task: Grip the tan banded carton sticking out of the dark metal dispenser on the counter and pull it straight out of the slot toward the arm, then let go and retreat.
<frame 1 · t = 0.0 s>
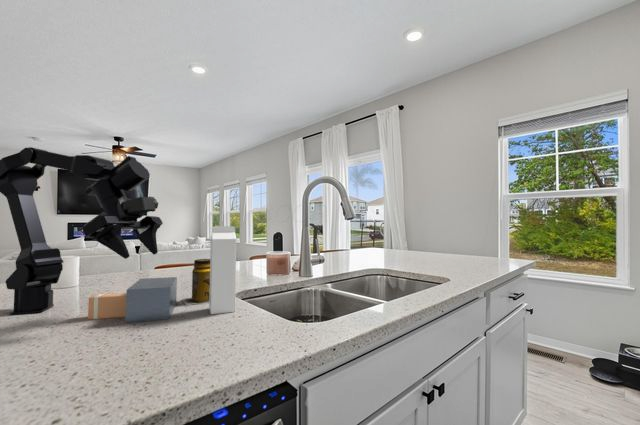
hand: (142, 255, 73), 15 cm above the worktop, tool tilted 35°, fingers open, 9 cm apart
condiment: (199, 301, 89), on the worktop
dispenser: (153, 312, 77), on the worktop
tan banded carton: (124, 314, 75), on the worktop
milk: (222, 310, 80), on the worktop
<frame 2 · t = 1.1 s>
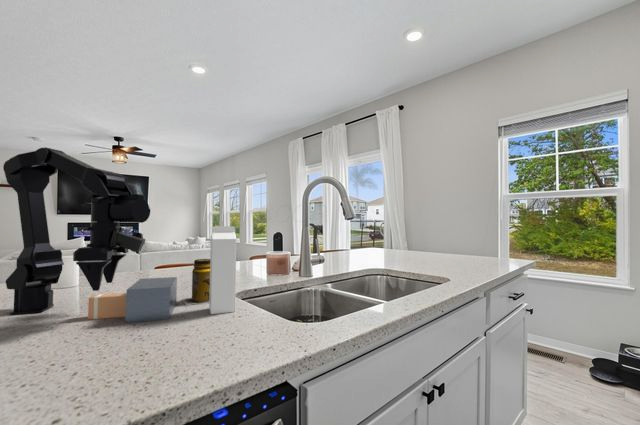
hand: (103, 286, 74), 7 cm above the worktop, tool pointing down, fingers open, 9 cm apart
nothing on the worktop moved.
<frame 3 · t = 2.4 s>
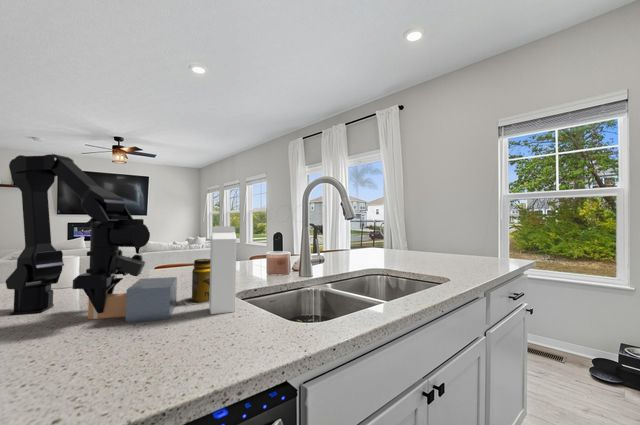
hand: (102, 310, 74), 1 cm above the worktop, tool pointing down, fingers closed on tan banded carton, 3 cm apart
tan banded carton: (124, 314, 75), on the worktop, touching gripper
everything else where it was.
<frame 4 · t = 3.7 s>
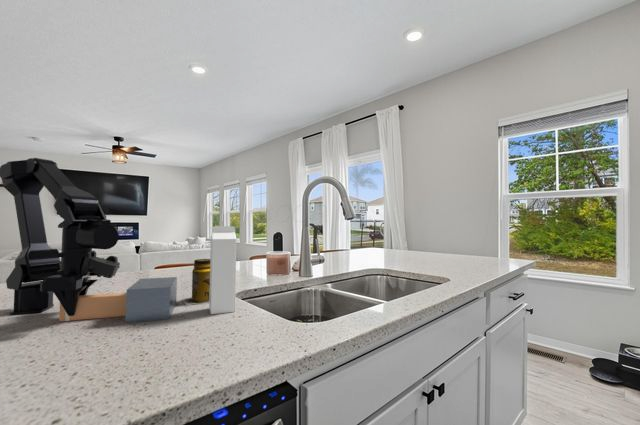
hand: (74, 313, 72), 1 cm above the worktop, tool pointing down, fingers closed on tan banded carton, 3 cm apart
tan banded carton: (97, 316, 73), on the worktop, touching gripper
everything else where it was.
when the fingers open (1 cm above the worktop, at t = 4.9 s): tan banded carton stays where it is, on the worktop.
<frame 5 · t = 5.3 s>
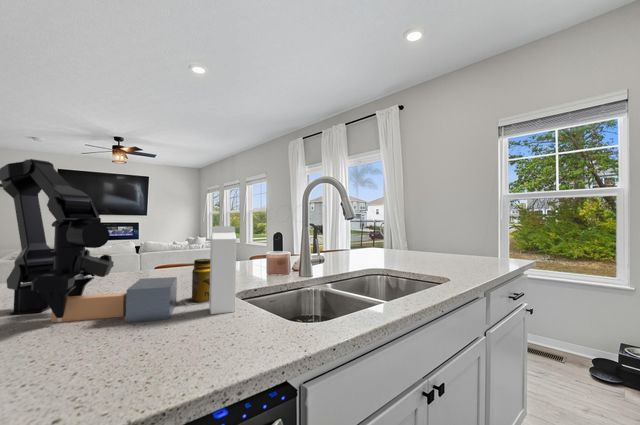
hand: (67, 312, 71), 1 cm above the worktop, tool pointing down, fingers open, 7 cm apart
tan banded carton: (90, 317, 73), on the worktop
everything else where it was.
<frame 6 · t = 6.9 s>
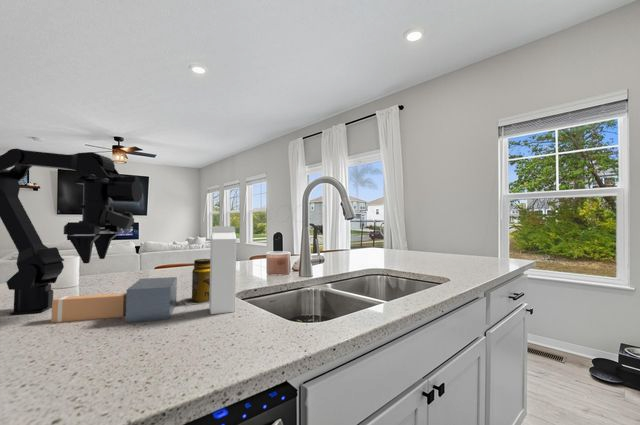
hand: (94, 261, 80), 13 cm above the worktop, tool pointing down, fingers open, 9 cm apart
nothing on the worktop moved.
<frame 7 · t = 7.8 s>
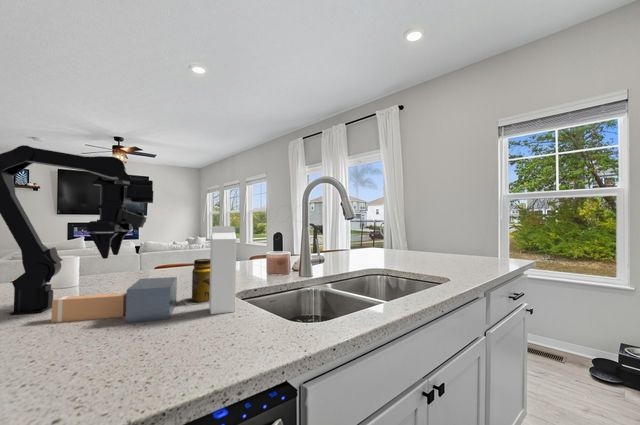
hand: (110, 256, 86), 13 cm above the worktop, tool pointing down, fingers open, 9 cm apart
nothing on the worktop moved.
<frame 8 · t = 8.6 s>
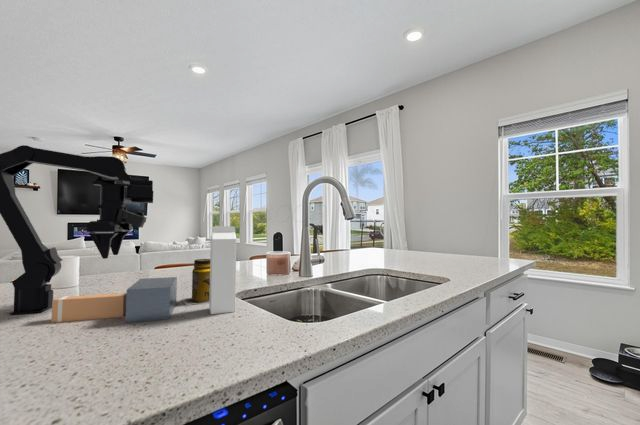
hand: (110, 256, 86), 13 cm above the worktop, tool pointing down, fingers open, 9 cm apart
nothing on the worktop moved.
at the end: tan banded carton inside the target area (3.4 cm from its centre), on the worktop; tan banded carton moved 6.9 cm from its start; the gripper is holding nothing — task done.
